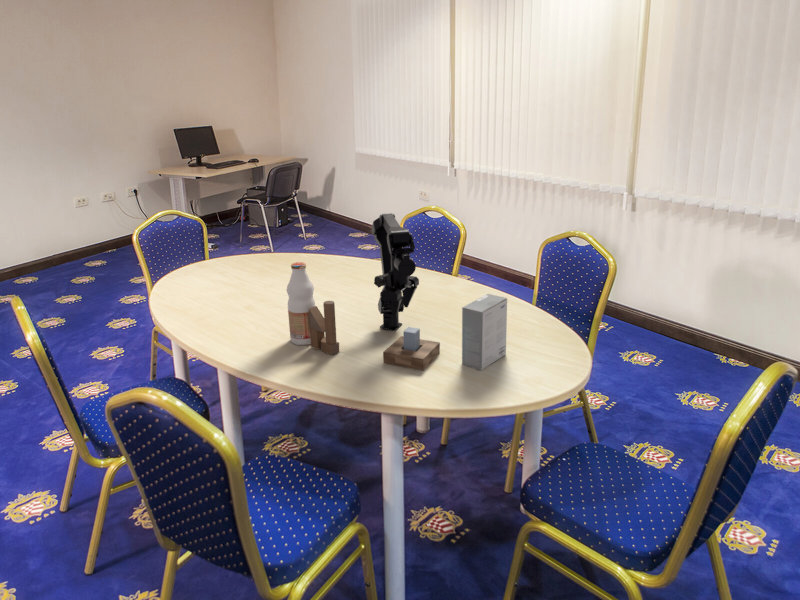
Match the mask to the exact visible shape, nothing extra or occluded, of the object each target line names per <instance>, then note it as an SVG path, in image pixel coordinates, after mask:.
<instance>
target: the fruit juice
mask: <svg viewBox="0 0 800 600" xmlns="http://www.w3.org/2000/svg"><path fill="white" fill-rule="evenodd" d="M290 268H291V271H292V272H291V273H290V274H291V275H290V279H289V282H288V284H287V285H286V292H287V293H286V294H287V296H288V300H287V313H288V326H289V327H288V329H289V338H290V341H291V343H292V344H294V345H297V346H306V345H308V346H309V345H311V335H310V322H309V308H312V307H315V306H316V300H315V298H314V289H315V287H314V283H312V281H311V279H310V277H309V275H308V273H307V271H306V268H307V264H306V263H305V262H303V261H302V262H301V261H300V262H299V261H298V262H292V263H291V264H290Z"/></svg>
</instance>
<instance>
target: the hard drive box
mask: <svg viewBox="0 0 800 600" xmlns="http://www.w3.org/2000/svg"><path fill="white" fill-rule="evenodd" d="M461 316H462V317H461V364H462V365H461V366H465V367H468V368H471V369H474V370H475V369H476V370H479V371H482V370H484V369H486V368H487V367H488V366H490V365H492V364H493V363H495V362H496V361H497V360H499V359H502V357H504V356H505V355H507V326H508V325H507V324H508V323H507V322H508V321H507V320H508V318H507V317H508V298H507V297H504V296H500V295H497V294H496V295H495V294H491V293H486V294H484V295H482V296H481V297H479V298H477V299H475V300H474V301H472V302H470V303H468V304H466V305H464V306H462V307H461Z"/></svg>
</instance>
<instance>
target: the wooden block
mask: <svg viewBox="0 0 800 600" xmlns="http://www.w3.org/2000/svg"><path fill="white" fill-rule="evenodd" d="M322 306H323V314H322V312H321V311H320V309H319V307H318V306H317V305H315V307H312V308H309V322H310V335H311V344H310V346H311V348H313V349H316V350H320V349H321V350H320V351H321V352H323V353H326V354H329V355H331V356H333V355H335V354H338V353H340V342H338V341H337V328H336V327H337V325H336V324H337V322H336V309H335V308H336V307H335V302H334V300H326V301H325V300H324V301H323V305H322Z"/></svg>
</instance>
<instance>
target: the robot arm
mask: <svg viewBox="0 0 800 600" xmlns="http://www.w3.org/2000/svg"><path fill="white" fill-rule="evenodd" d="M371 233H372V236H373V238H374V241H375V242H376V243H377V245H378V246H379V254H380V263H381V271H382V274H379V275H375V276H374V282H373V284H374V285H375V286H376V287H377V288H381V287H382V289H381V291H380V293H379V294H380V295H379V298H378V299H379V300H378V303H377V307H378V312H379V313H380V315H382V321H383V322H382V324H381V325H380V326H379V329H383V330H390V331H396V330H398V329H400V328H401V327H402V326H403V323H402V322H399V321H400V319H399V318H400V317H399V315H400V314H399V313H404V310H405V308H409V305H410V303H411V301H412V299H413V296H414V294H415V292H416V290H417V289H418V286H419V285H420V279H419V277H417V276H415V275H414V276H413V274H414V273H415V272H416V268H417V266H416V263H415V261H414V260H413V259H412V258H411V256H410V254H413V253H415V248H416V246H415V242H414V237H413V235H412V233H411V232H410V230H409V229H408V228H406V227H401V226H400V223H399V222H398V221H397V218H396V216H395V213H392V212H391V213H389V212H388V213H382V214H379V217H378V218H376V219H375V220H373V222H372V225H371Z"/></svg>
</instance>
